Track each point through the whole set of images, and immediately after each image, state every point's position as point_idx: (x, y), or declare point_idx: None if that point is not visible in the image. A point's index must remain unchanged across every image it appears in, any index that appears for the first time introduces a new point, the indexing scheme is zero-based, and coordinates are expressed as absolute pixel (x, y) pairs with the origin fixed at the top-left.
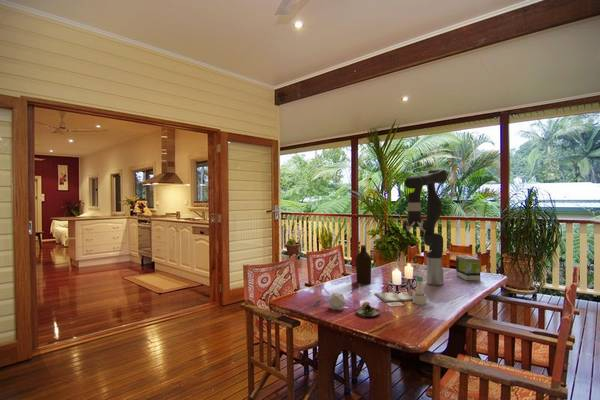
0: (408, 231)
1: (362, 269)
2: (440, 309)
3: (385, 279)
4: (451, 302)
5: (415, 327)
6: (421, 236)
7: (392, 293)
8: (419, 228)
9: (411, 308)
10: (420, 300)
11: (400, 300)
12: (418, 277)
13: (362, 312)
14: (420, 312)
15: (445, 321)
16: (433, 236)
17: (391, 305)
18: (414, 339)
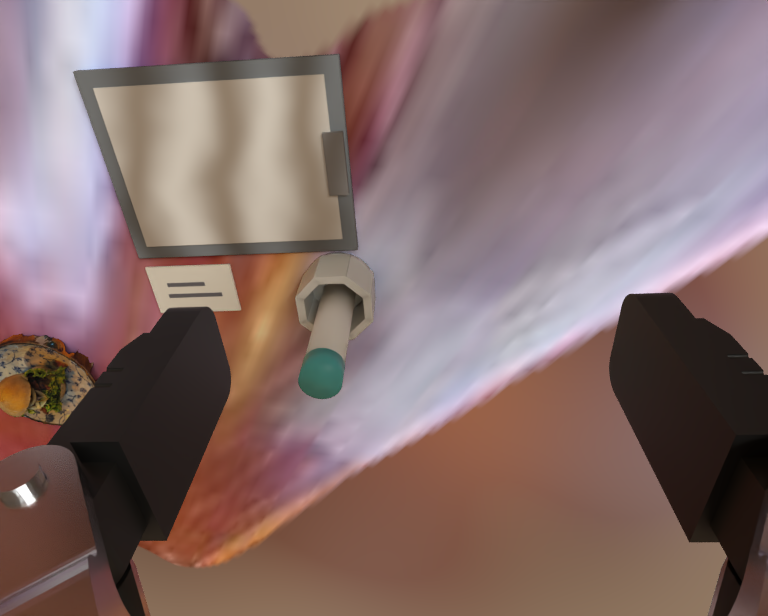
0: (136, 524)
1: None
2: (398, 377)
3: None
4: (520, 304)
5: (221, 493)
6: (616, 376)
7: (211, 110)
8: (760, 555)
9: (265, 348)
10: None
11: (234, 253)
12: (306, 393)
13: (20, 371)
14: (289, 394)
15: (348, 472)
16: None
17: (169, 306)
18: (195, 544)
